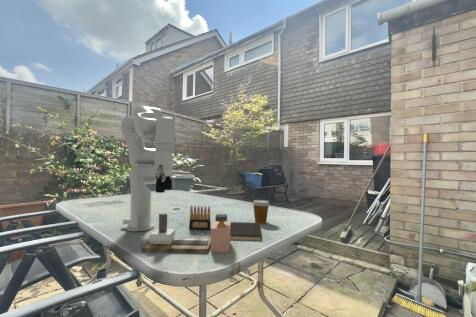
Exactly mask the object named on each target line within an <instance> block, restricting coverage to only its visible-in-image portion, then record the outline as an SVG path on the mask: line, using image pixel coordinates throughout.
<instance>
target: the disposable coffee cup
mask: <svg viewBox="0 0 476 317" xmlns="http://www.w3.org/2000/svg"><path fill="white" fill-rule="evenodd" d="M252 206H253V214H254V223H263V224H266V223H267V220H268V212H269V206H270V201H269V200H266V199H254V200H253V202H252Z"/></svg>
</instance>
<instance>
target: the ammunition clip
mask: <svg viewBox="0 0 476 317" xmlns="http://www.w3.org/2000/svg"><path fill="white" fill-rule="evenodd" d="M189 211H190V212H189V223H188V224H189V225H188V230H191V231H211V228H212V226H211V225H212V222H211V207H210V205H208V206H207V205H205V206H204V207H203V205H201V206H200V205H197V207H196V205H194V207H193V205H192V204H191V206H190V210H189Z"/></svg>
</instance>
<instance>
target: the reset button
mask: <svg viewBox="0 0 476 317" xmlns="http://www.w3.org/2000/svg"><path fill="white" fill-rule="evenodd" d="M214 222H219V226H224V222H228V214H227V213H226V214H225V213H224V214H222V213H216V214H215V220H214Z"/></svg>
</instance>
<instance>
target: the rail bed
mask: <svg viewBox="0 0 476 317" xmlns="http://www.w3.org/2000/svg"><path fill="white" fill-rule="evenodd" d="M150 243H151V241H150V238H149V241H148V242H146V243H145V244H144V245H143V246H142V247H141V253H185V254H186V253H190V254H192V253H193V254H194V253H195V254H208V253H209V251H210V249H211V237H209V238H205V237H204V238H202V237H174V238H173V239H172V243H171V244H150Z"/></svg>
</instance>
